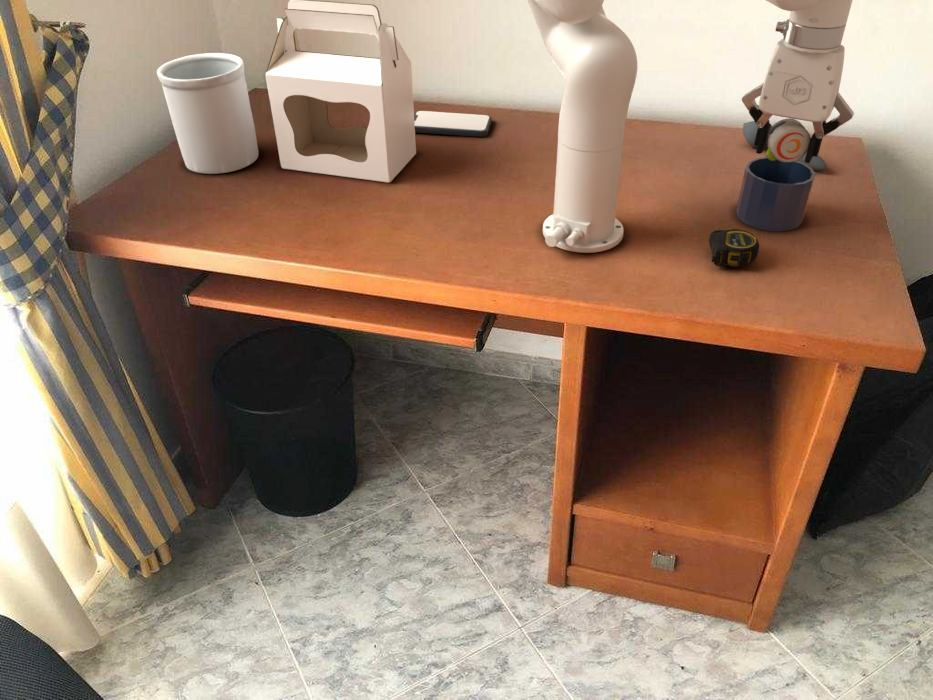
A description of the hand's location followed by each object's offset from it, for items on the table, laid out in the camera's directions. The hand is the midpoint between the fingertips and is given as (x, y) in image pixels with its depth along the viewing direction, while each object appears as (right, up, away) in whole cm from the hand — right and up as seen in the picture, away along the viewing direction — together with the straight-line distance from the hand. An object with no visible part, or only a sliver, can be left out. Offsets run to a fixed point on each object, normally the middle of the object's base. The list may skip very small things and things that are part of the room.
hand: (784, 154), depth 120 cm
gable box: (-71, +5, +26) cm, 76 cm away
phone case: (-52, +15, +38) cm, 66 cm away
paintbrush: (+9, +6, +25) cm, 28 cm away
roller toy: (0, -1, +1) cm, 1 cm away
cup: (0, -8, +6) cm, 11 cm away
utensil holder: (-95, +6, +27) cm, 99 cm away
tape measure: (-10, -17, -4) cm, 20 cm away
